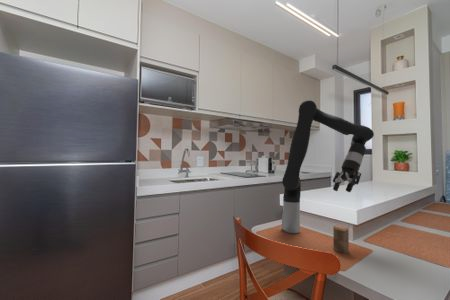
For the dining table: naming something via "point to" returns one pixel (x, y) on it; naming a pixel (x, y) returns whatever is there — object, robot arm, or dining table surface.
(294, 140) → the robot arm
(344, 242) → the brown cardboard box
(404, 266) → the dining table surface
